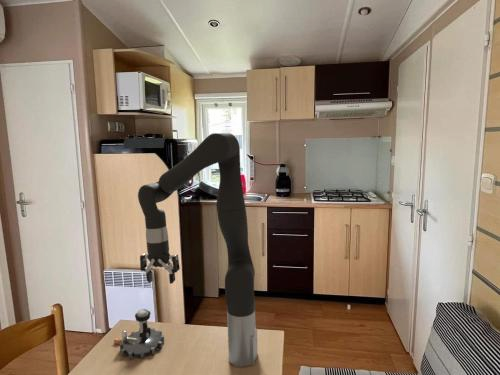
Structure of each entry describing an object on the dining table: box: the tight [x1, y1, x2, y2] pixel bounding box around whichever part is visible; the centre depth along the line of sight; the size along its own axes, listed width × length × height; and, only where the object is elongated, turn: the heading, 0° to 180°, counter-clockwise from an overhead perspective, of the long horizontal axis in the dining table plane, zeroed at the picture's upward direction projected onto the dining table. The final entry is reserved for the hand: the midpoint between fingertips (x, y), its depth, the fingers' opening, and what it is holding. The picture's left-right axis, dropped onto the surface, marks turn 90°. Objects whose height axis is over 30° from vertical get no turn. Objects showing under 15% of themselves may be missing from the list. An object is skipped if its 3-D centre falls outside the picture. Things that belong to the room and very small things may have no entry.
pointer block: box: [113, 337, 123, 346], centre depth 114 cm, size 3×2×2 cm, turn 77°
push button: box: [134, 308, 152, 343], centre depth 112 cm, size 7×5×10 cm
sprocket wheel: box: [119, 327, 165, 360], centre depth 112 cm, size 15×15×6 cm
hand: (161, 282), depth 113 cm, fingers open, 8 cm apart
